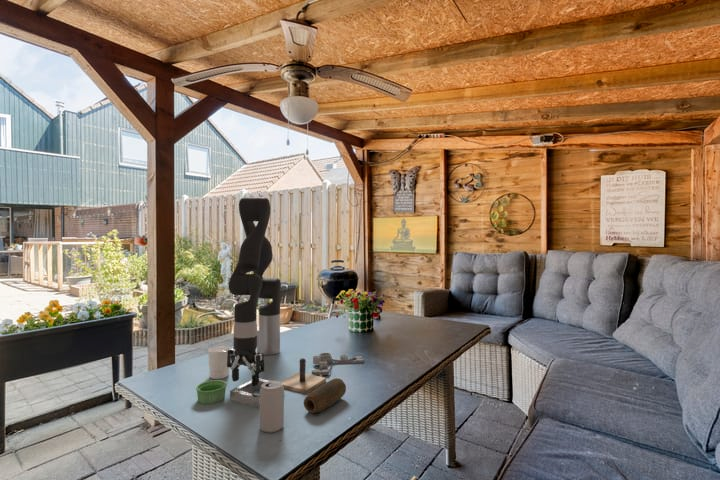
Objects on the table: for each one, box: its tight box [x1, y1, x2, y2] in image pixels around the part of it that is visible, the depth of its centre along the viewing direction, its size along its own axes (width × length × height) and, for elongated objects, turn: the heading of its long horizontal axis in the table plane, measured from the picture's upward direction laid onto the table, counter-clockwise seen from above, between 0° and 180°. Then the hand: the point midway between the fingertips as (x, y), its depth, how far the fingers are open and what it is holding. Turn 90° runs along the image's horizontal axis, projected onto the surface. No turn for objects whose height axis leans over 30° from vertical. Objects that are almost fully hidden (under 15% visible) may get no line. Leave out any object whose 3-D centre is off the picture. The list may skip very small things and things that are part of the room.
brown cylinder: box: [303, 378, 347, 414], centre depth 113 cm, size 15×7×7 cm, turn 151°
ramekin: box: [195, 379, 227, 405], centre depth 118 cm, size 9×9×4 cm
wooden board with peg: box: [281, 357, 327, 395], centre depth 130 cm, size 12×12×9 cm
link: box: [229, 377, 284, 409], centre depth 119 cm, size 12×12×3 cm
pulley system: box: [311, 352, 365, 376], centre depth 149 cm, size 27×5×15 cm
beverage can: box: [259, 380, 285, 434], centre depth 100 cm, size 6×6×12 cm
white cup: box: [207, 345, 232, 380], centre depth 137 cm, size 8×8×10 cm
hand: (245, 383), depth 121 cm, fingers open, 8 cm apart
